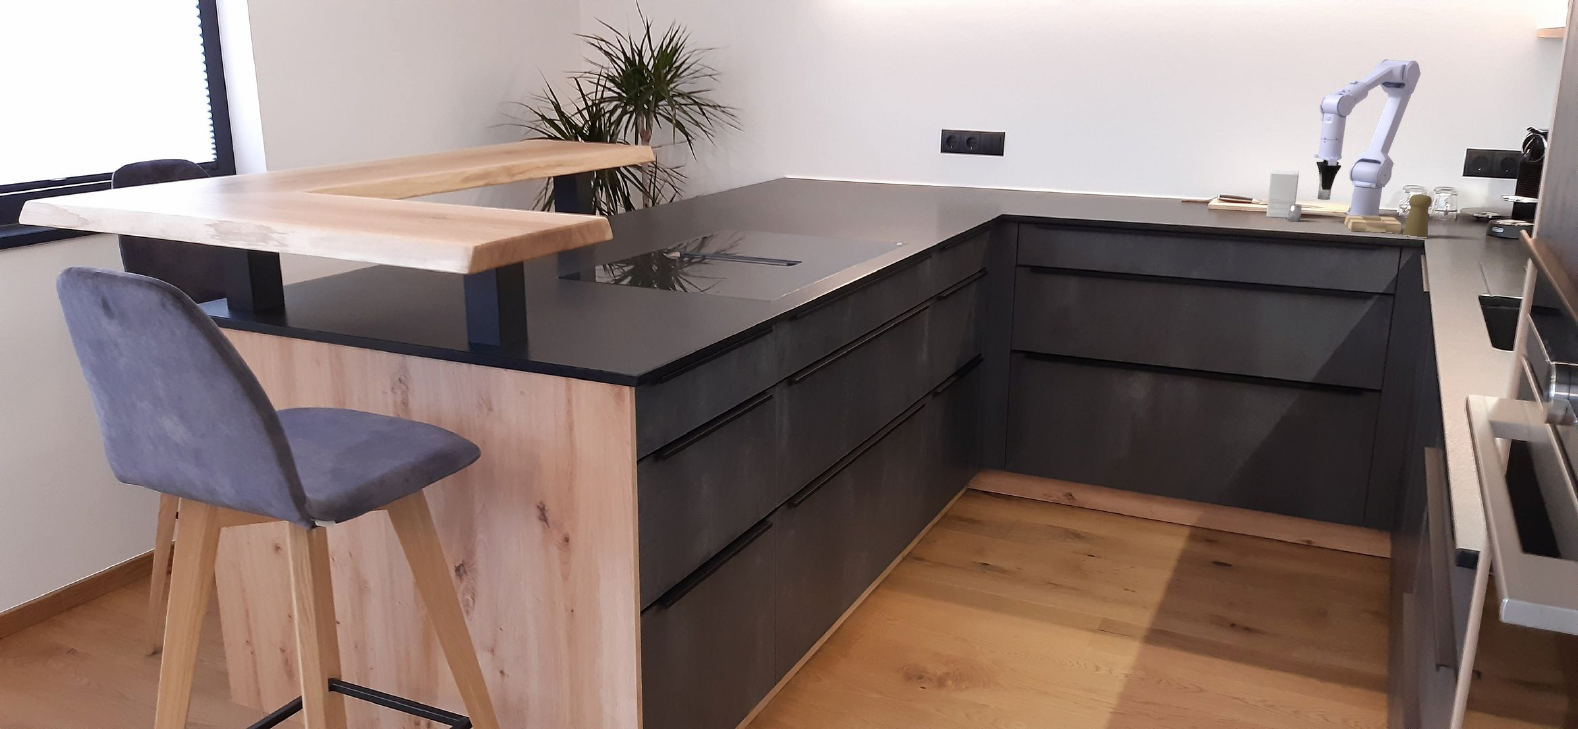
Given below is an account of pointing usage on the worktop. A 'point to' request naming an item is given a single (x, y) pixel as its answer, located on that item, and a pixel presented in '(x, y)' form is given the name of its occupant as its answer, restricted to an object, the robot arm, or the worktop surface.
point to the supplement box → (1282, 193)
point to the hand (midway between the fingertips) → (1325, 188)
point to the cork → (1418, 216)
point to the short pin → (1294, 213)
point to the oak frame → (1372, 223)
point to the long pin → (1323, 192)
